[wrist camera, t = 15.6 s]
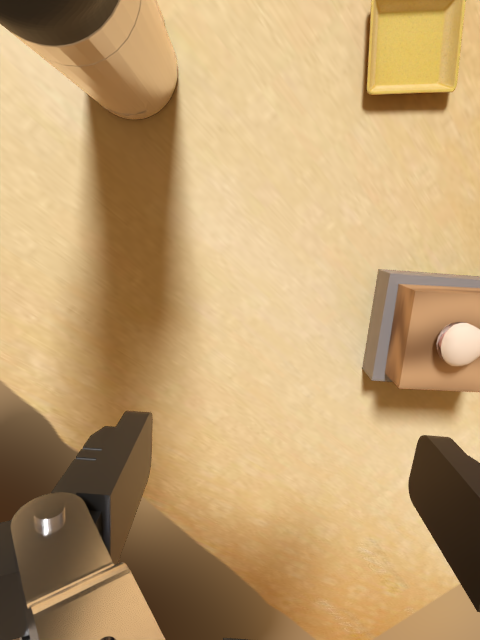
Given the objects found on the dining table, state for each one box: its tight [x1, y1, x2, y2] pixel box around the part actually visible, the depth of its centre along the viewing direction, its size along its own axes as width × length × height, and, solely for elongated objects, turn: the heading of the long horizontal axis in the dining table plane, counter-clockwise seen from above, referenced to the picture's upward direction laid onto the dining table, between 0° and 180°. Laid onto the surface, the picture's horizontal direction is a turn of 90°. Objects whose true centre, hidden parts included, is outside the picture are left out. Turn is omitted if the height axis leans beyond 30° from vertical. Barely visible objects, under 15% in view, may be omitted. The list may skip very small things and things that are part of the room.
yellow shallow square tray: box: [367, 0, 466, 95], centre depth 37 cm, size 9×9×2 cm
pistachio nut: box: [436, 322, 480, 366], centre depth 36 cm, size 4×5×2 cm
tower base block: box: [362, 269, 480, 382], centre depth 43 cm, size 12×12×4 cm
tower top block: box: [385, 284, 480, 392], centre depth 39 cm, size 10×10×4 cm
